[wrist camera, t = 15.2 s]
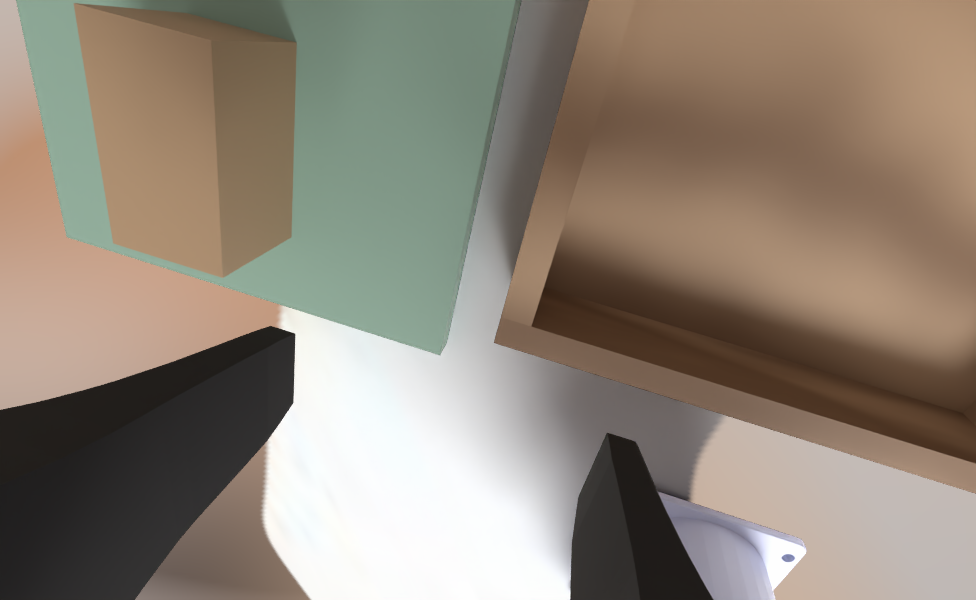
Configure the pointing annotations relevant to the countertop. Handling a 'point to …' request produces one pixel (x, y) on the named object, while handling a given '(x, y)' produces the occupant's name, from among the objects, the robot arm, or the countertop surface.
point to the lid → (279, 143)
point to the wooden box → (769, 219)
